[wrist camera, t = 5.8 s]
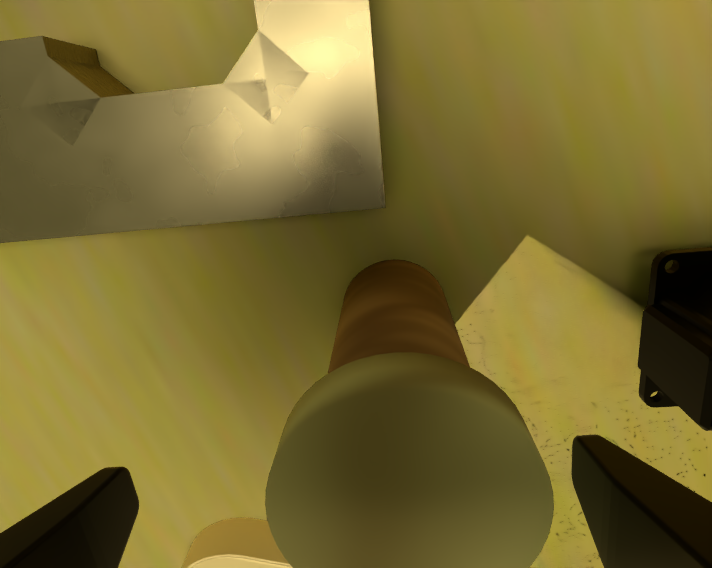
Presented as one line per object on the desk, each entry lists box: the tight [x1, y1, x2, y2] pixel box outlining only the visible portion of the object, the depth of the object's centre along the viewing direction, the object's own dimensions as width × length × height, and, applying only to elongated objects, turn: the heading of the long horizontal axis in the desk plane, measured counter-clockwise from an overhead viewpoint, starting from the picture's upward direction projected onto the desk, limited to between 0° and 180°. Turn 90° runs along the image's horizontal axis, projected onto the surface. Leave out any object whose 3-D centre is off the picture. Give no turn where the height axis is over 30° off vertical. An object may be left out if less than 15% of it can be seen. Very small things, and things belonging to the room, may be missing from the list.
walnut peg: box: [265, 260, 554, 568], centre depth 15 cm, size 6×6×12 cm
